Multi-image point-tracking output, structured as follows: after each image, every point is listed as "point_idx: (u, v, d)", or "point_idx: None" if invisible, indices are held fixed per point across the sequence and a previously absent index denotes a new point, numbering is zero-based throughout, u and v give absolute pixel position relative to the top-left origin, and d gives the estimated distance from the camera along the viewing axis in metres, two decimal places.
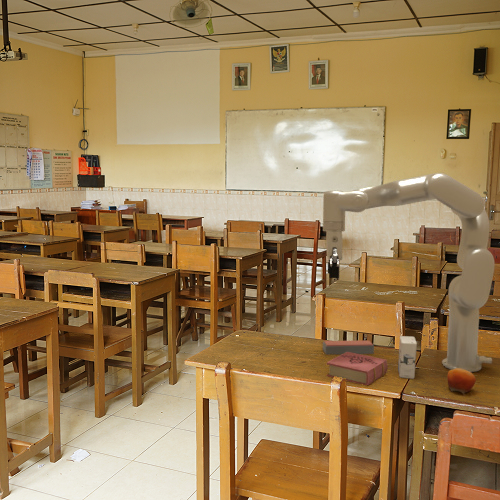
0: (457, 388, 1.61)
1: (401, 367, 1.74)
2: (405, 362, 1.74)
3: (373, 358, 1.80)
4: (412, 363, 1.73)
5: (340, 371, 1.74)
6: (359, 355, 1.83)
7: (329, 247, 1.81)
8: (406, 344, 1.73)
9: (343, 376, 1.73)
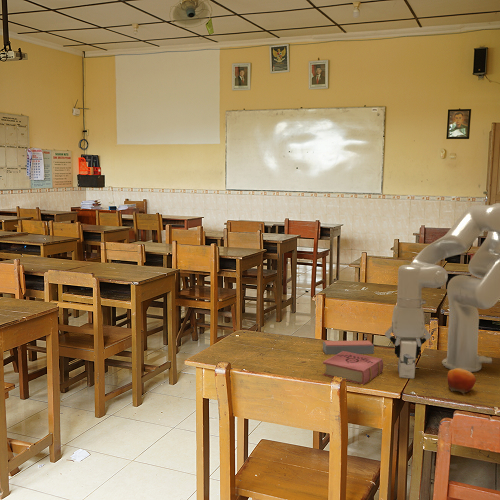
0: (457, 388, 1.61)
1: (401, 367, 1.74)
2: (405, 362, 1.74)
3: (369, 357, 1.81)
4: (412, 363, 1.73)
5: (336, 371, 1.74)
6: (355, 354, 1.84)
7: None
8: (406, 344, 1.73)
9: (339, 375, 1.74)
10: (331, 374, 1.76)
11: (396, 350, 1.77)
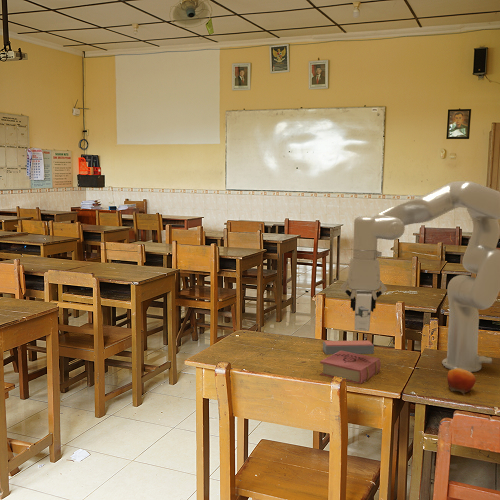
0: (457, 388, 1.61)
1: (356, 320, 1.71)
2: (360, 315, 1.71)
3: (366, 357, 1.81)
4: (367, 316, 1.70)
5: (333, 370, 1.75)
6: (353, 354, 1.84)
7: (379, 277, 1.71)
8: (361, 296, 1.70)
9: (336, 375, 1.74)
10: (328, 373, 1.76)
11: (352, 303, 1.74)
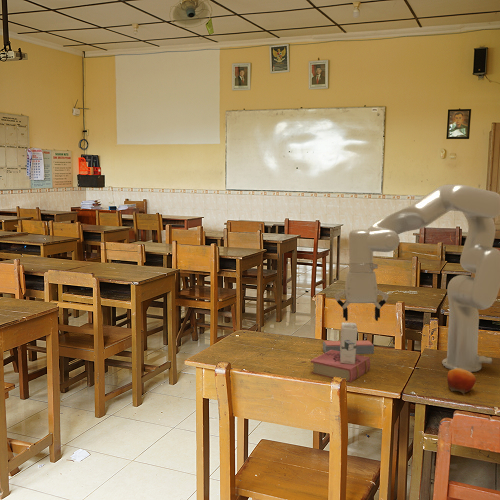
0: (457, 388, 1.61)
1: (342, 353, 1.75)
2: (346, 348, 1.74)
3: (356, 356, 1.83)
4: (352, 349, 1.74)
5: (323, 369, 1.77)
6: None
7: (376, 289, 1.72)
8: (347, 330, 1.73)
9: (327, 374, 1.76)
10: (319, 372, 1.78)
11: (344, 313, 1.75)
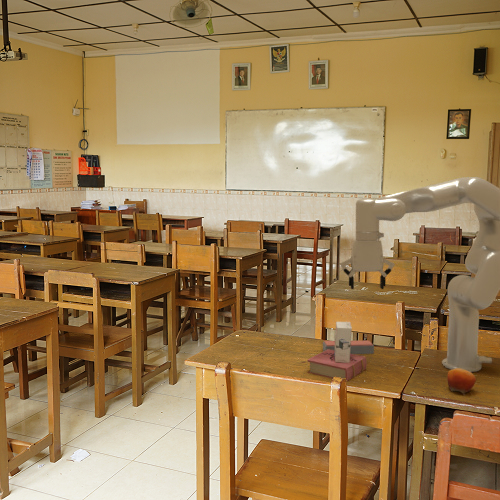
0: (457, 388, 1.61)
1: (337, 352, 1.76)
2: (341, 347, 1.75)
3: (353, 355, 1.83)
4: (347, 348, 1.75)
5: (320, 368, 1.77)
6: None
7: (382, 257, 1.74)
8: (341, 329, 1.75)
9: (323, 373, 1.77)
10: (315, 372, 1.78)
11: (350, 282, 1.77)
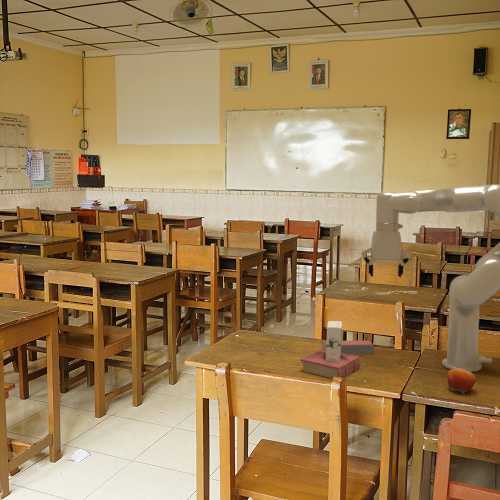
0: (457, 388, 1.61)
1: (327, 351, 1.77)
2: (331, 346, 1.77)
3: (346, 355, 1.84)
4: (337, 347, 1.77)
5: (313, 368, 1.78)
6: None
7: None
8: (331, 328, 1.76)
9: (316, 372, 1.78)
10: (308, 371, 1.79)
11: (370, 269, 1.89)
